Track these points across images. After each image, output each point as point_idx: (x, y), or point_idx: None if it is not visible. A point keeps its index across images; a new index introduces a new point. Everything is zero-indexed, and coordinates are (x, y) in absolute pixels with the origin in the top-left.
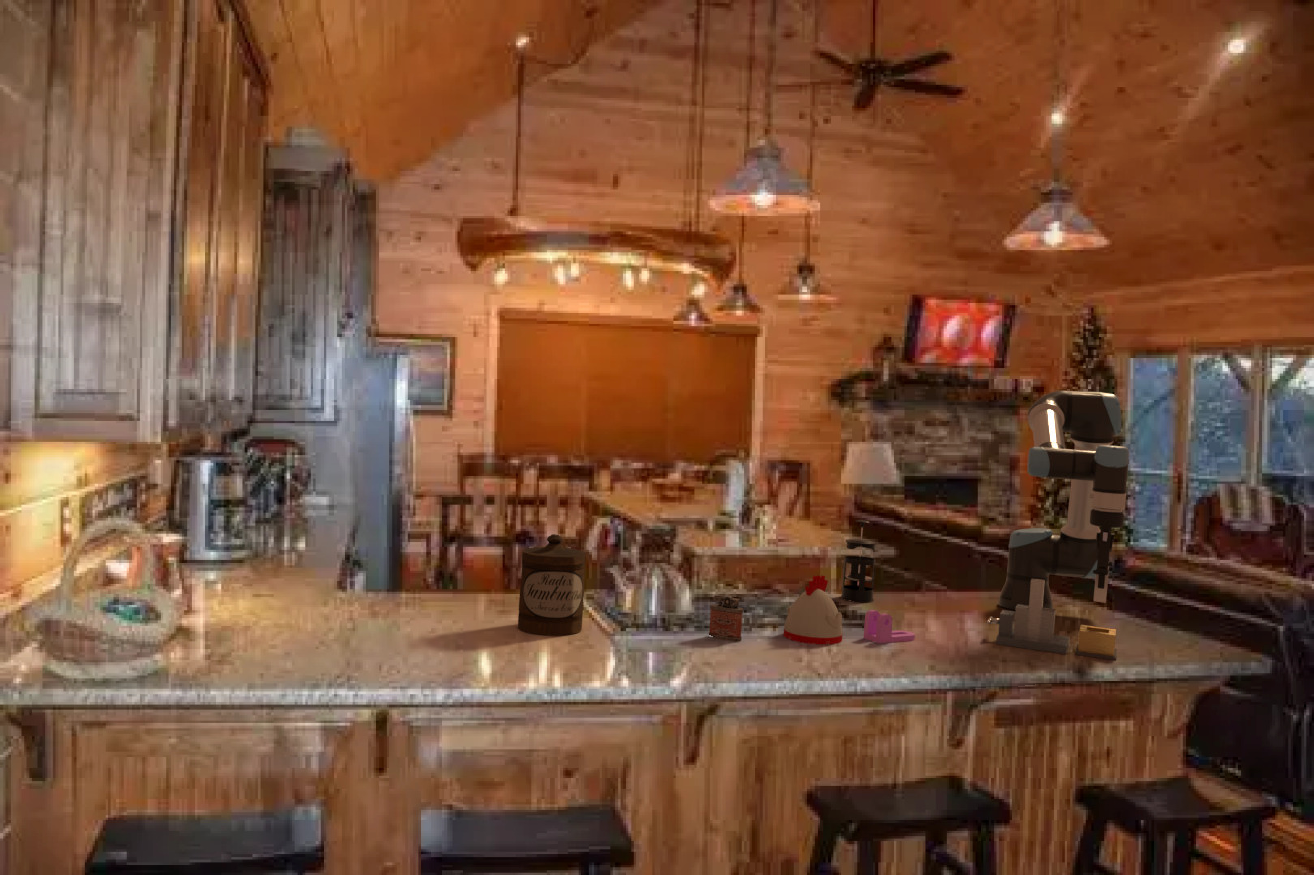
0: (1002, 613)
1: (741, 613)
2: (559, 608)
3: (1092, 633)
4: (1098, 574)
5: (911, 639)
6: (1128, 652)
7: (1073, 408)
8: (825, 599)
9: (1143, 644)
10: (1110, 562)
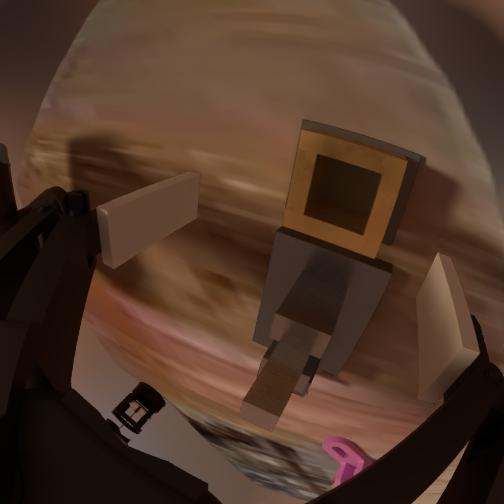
0: (296, 391)
1: None
2: None
3: (386, 224)
4: (442, 392)
5: (349, 442)
6: (300, 90)
7: None
8: None
9: (189, 50)
10: (65, 203)
